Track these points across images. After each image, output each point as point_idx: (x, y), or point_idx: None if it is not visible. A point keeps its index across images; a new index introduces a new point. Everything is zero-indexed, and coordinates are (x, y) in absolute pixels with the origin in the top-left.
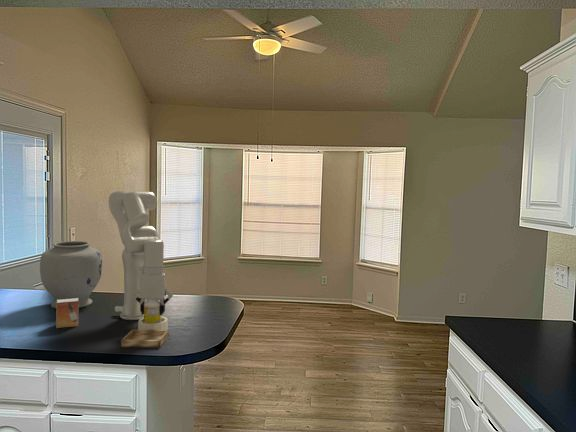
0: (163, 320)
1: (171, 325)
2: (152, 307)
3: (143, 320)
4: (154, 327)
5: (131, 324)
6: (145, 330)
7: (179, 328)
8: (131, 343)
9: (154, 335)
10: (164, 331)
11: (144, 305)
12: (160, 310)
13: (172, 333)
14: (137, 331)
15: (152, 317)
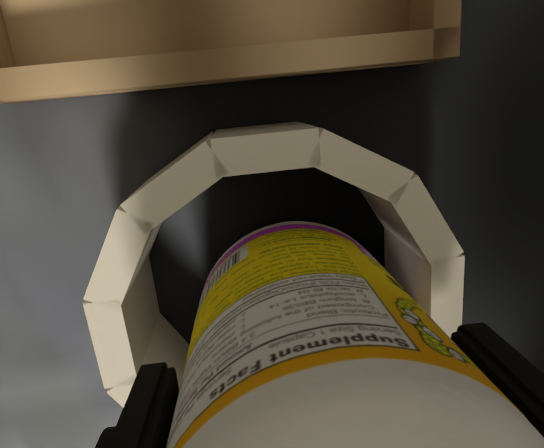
0: None
1: None
2: (287, 374)
3: None
4: (193, 147)
5: None
6: (278, 44)
7: (22, 355)
8: None
9: (156, 45)
10: (16, 68)
11: (540, 434)
12: (140, 416)
13: (15, 198)
14: (378, 36)
15: (266, 271)
